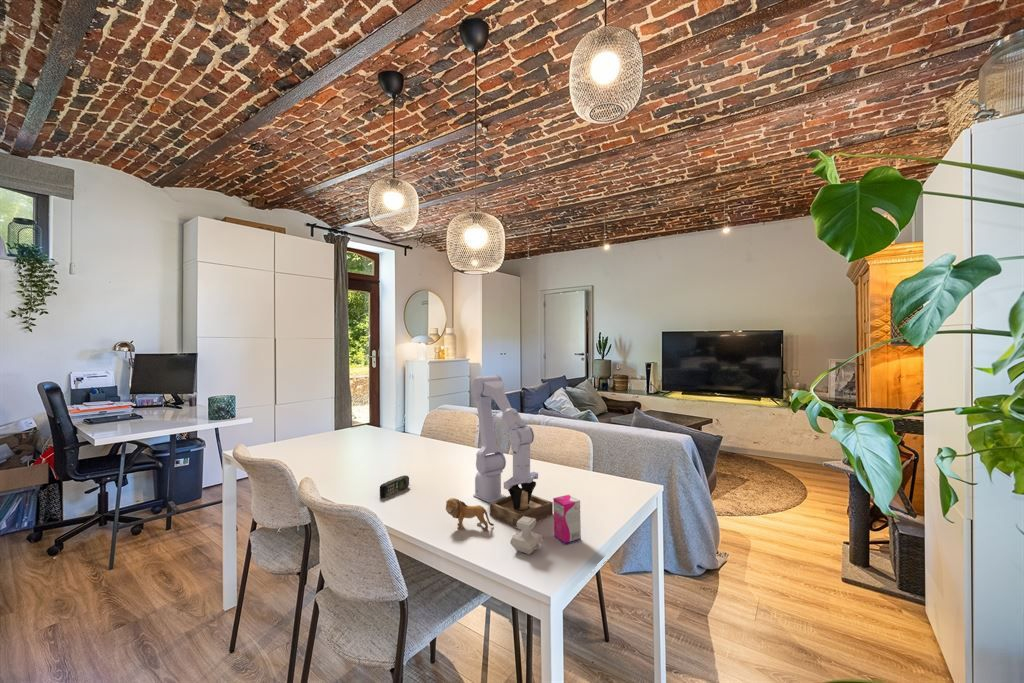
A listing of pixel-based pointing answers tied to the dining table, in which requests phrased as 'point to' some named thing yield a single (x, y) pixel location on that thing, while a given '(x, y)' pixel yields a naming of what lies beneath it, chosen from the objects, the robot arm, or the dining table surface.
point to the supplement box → (567, 519)
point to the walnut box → (510, 515)
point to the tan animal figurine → (466, 512)
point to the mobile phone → (394, 486)
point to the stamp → (526, 536)
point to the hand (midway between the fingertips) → (521, 505)
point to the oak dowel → (523, 501)
